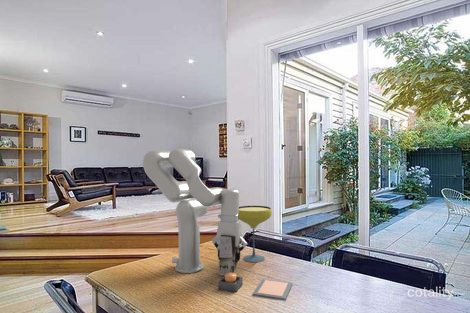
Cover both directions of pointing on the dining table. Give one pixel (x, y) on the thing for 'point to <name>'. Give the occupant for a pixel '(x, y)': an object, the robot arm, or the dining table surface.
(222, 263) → the coffee box
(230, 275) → the button
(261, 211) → the cocktail glass
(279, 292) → the picture board
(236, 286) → the button housing
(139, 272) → the dining table surface
